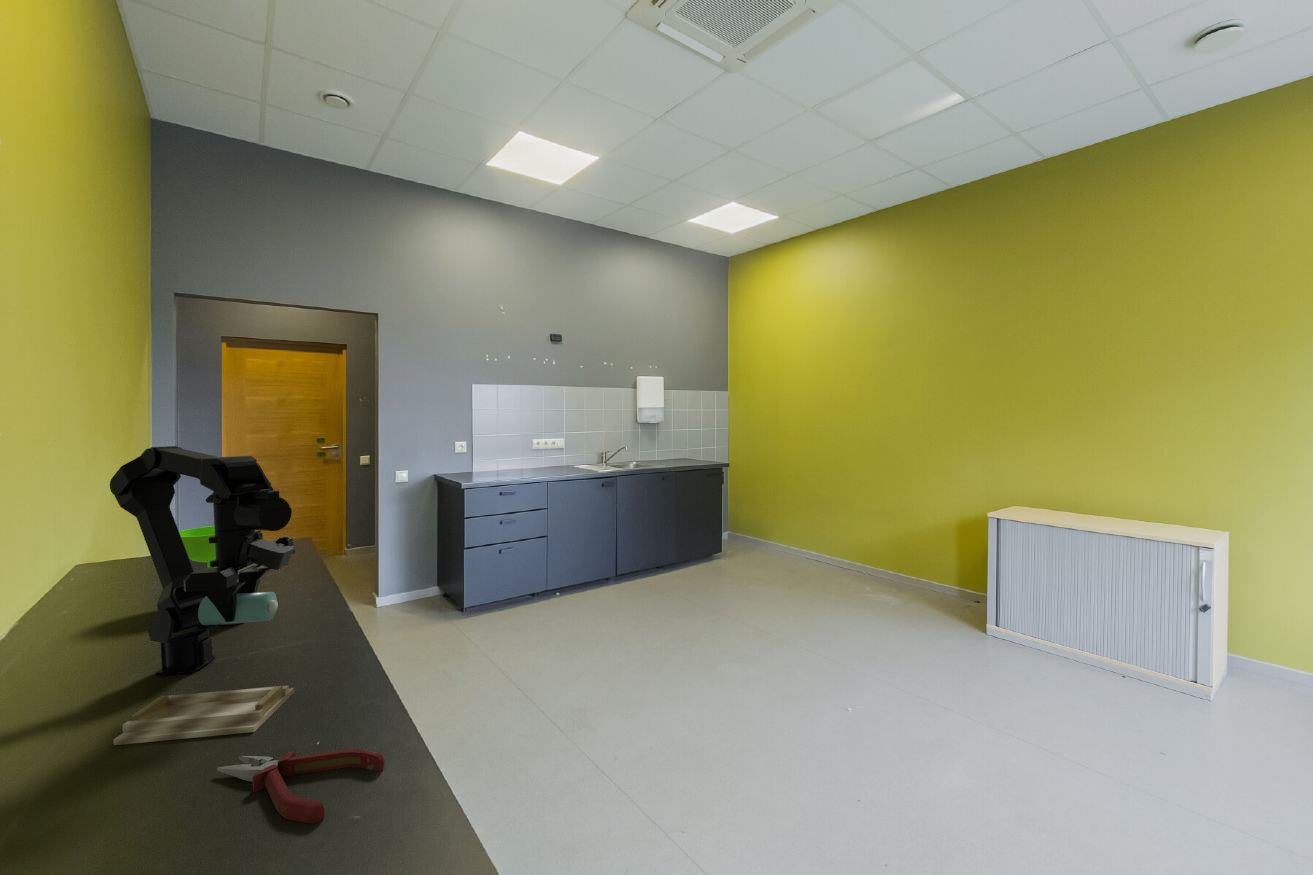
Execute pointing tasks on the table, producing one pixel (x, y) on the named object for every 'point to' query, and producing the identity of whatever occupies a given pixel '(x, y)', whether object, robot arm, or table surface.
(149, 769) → the table surface
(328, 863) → the table surface
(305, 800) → the pliers
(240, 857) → the table surface
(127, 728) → the wooden tray
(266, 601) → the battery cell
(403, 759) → the table surface
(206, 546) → the green tapered container
